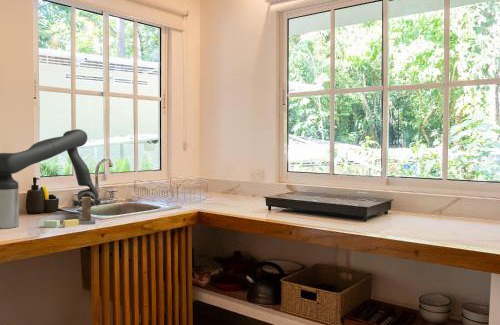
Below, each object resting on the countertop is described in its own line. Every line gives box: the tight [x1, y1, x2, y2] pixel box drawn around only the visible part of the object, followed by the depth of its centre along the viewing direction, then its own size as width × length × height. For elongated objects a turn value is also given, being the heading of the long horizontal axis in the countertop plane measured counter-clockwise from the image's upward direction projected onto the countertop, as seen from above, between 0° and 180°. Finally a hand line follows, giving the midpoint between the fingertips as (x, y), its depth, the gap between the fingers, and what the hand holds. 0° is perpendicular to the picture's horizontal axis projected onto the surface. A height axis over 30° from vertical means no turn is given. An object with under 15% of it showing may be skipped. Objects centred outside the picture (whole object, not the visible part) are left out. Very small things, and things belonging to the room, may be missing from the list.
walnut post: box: [81, 197, 92, 221], centre depth 211 cm, size 4×4×11 cm
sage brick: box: [43, 219, 61, 229], centre depth 201 cm, size 6×3×3 cm, turn 86°
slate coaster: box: [77, 218, 97, 226], centre depth 211 cm, size 8×8×1 cm
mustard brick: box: [62, 218, 80, 229], centre depth 203 cm, size 6×3×3 cm, turn 130°
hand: (86, 204), depth 208 cm, fingers open, 4 cm apart
